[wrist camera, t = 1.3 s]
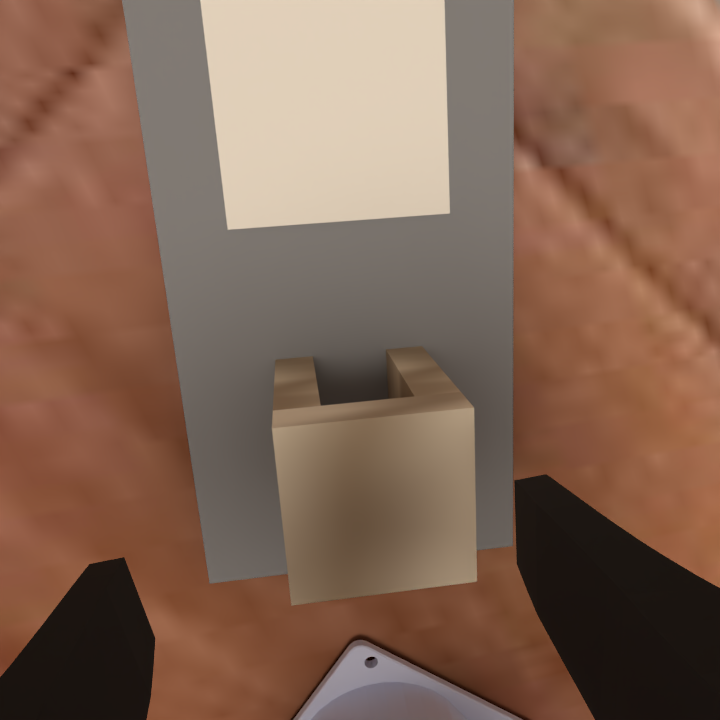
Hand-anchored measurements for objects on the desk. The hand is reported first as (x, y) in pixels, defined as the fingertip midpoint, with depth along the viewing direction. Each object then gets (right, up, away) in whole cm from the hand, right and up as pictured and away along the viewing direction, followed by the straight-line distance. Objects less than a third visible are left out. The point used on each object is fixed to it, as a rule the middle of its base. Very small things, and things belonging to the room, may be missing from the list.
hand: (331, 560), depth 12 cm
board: (0, +6, +9) cm, 11 cm away
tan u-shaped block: (0, +2, +10) cm, 10 cm away
